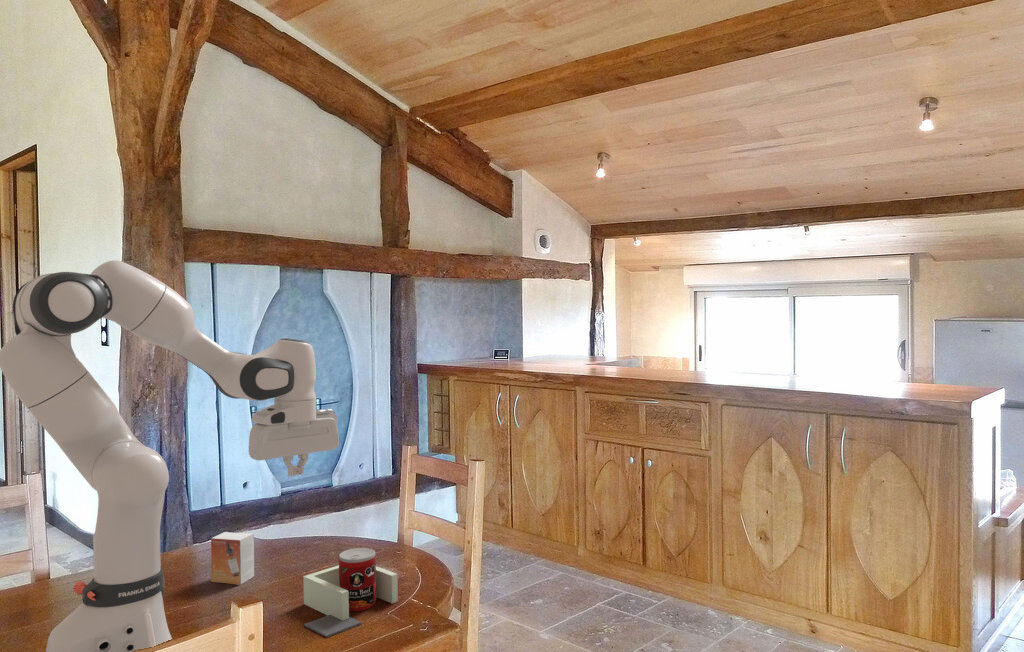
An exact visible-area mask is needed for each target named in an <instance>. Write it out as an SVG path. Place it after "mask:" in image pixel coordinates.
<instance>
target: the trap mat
mask: <svg viewBox="0 0 1024 652" xmlns="http://www.w3.org/2000/svg"><path fill="white" fill-rule="evenodd" d="M360 625H362V621H360V620H358V619H356V618H354V617H351V616H349V618H348V619H346V620H340V619H338V618H336V617H334V616H332V615H325V616H323V617H320V618H317V619H315V620H312V621H310V622H306V623H304V625H303V626H304V627H305V628H308V629H310V630H311V631H313V632H315V633H317V634H319V635H321V636H323V637H324V638H326V639H327V638H330V637H332V636H335V635H337V634H340V633H343V632H344V631H345V632H346V631H347V630H350V629H353V628H355V627H357V626H360Z"/></svg>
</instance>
